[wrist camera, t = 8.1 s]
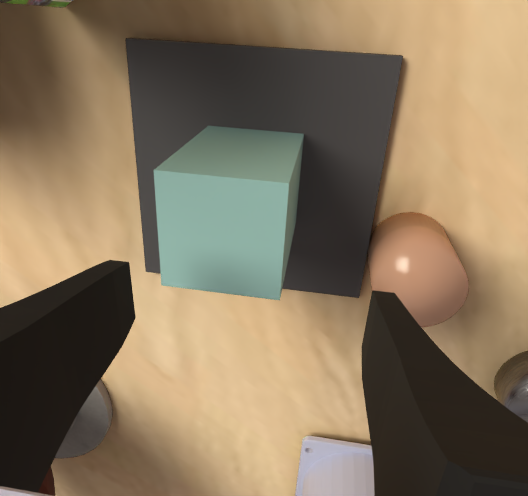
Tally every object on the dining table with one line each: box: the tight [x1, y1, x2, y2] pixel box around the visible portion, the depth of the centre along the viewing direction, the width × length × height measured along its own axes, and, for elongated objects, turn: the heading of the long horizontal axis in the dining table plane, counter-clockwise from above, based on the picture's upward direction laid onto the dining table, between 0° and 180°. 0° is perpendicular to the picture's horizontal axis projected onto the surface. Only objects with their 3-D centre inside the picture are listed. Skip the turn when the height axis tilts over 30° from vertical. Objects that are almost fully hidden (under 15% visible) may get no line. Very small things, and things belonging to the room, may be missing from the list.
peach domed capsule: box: [367, 212, 469, 327], centre depth 21 cm, size 4×4×4 cm
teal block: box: [154, 126, 304, 300], centre depth 18 cm, size 4×4×7 cm
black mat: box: [126, 38, 403, 298], centre depth 22 cm, size 12×12×1 cm
